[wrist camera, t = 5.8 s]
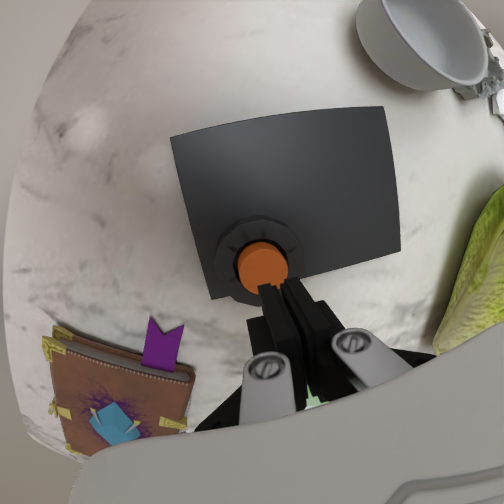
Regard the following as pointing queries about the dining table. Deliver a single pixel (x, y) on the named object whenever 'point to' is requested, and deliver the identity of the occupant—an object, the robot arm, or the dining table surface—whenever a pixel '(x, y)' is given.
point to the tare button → (261, 266)
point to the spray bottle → (498, 103)
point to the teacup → (423, 42)
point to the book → (117, 389)
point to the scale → (290, 192)
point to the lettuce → (477, 281)
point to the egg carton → (492, 79)
